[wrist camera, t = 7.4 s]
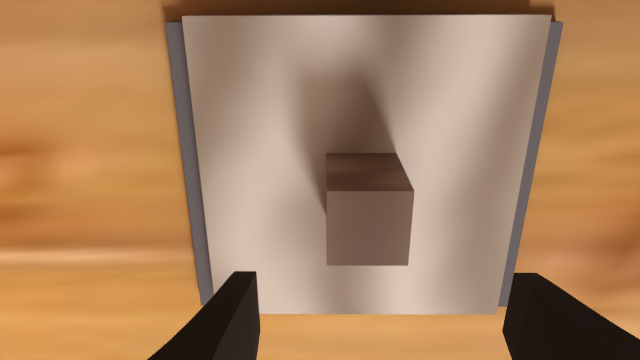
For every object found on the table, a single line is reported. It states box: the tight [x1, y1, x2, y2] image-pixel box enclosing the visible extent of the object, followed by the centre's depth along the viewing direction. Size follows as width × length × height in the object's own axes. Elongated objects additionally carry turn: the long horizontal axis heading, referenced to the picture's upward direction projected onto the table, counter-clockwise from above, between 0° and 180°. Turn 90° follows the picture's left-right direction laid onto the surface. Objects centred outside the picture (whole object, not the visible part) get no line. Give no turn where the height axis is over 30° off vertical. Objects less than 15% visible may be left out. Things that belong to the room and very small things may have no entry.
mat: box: [165, 21, 563, 307], centre depth 21 cm, size 16×14×1 cm
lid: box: [182, 14, 552, 314], centre depth 18 cm, size 14×14×5 cm
